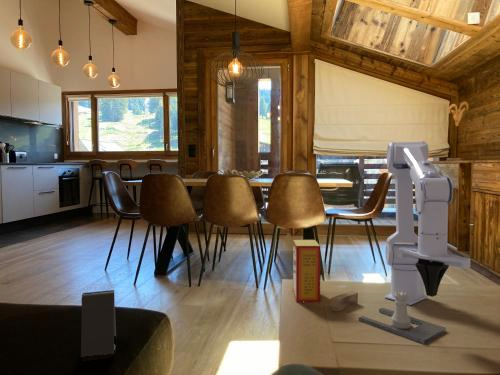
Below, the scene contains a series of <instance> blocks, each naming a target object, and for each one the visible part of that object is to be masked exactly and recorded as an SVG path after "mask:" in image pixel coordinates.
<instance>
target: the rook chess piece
mask: <svg viewBox="0 0 500 375" xmlns="http://www.w3.org/2000/svg"><path fill="white" fill-rule="evenodd" d="M394 297H395V298H396V301H395V300H394V303H395V306H394V314H393V316H390V317H391V318H390V320H391V321H390V324H391V326H393V327H396V328H398V329H401V330H408V329H410V328H411V327H412V324H411V320H410V318H409V316H410V315H409V314H408V309H407V305H409V304H408V303H407V299H408V298H409V296H408V295H407V292H405V291H402V292H400V290H398V291H396V293H395V294H394Z"/></svg>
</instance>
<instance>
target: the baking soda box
mask: <svg viewBox="0 0 500 375" xmlns="http://www.w3.org/2000/svg"><path fill="white" fill-rule="evenodd" d="M292 292H294V293H293V296H294V295H295V296H294V298H296V299H295V302H296V303H321V245H320V243H318V241H317V240H315V239H292ZM303 301H304V302H303Z"/></svg>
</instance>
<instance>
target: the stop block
mask: <svg viewBox="0 0 500 375" xmlns="http://www.w3.org/2000/svg"><path fill="white" fill-rule="evenodd" d="M358 296H359V293H358V292H356V291H352V290H351V291H347V292H345V293H342V294H338V295H336V296H333V297H330V310H332V311H334V312H339V311H342V310H346V309H348V308H350V307H353V306H355V305H358V303H359V297H358Z"/></svg>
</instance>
